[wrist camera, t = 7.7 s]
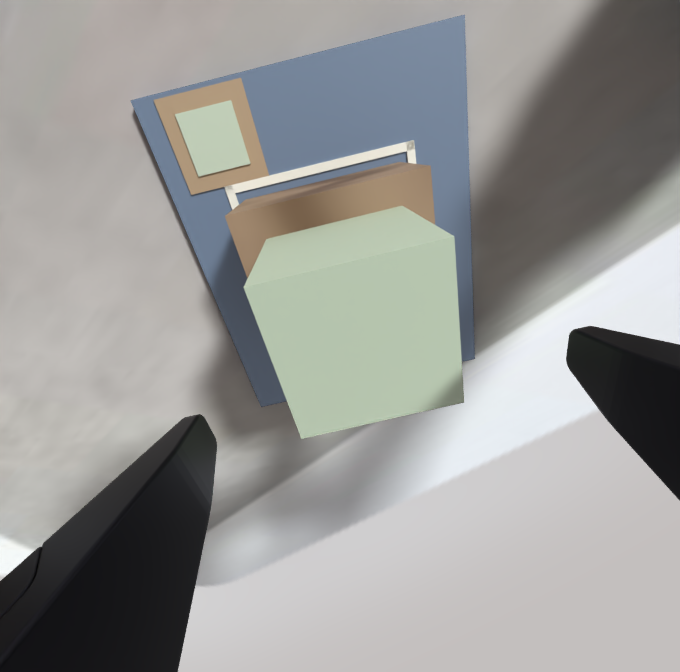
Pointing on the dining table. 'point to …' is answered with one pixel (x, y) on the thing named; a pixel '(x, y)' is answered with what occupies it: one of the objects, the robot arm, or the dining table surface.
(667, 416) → the robot arm
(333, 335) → the sage cube
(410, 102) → the board
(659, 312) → the dining table surface
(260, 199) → the walnut base block
